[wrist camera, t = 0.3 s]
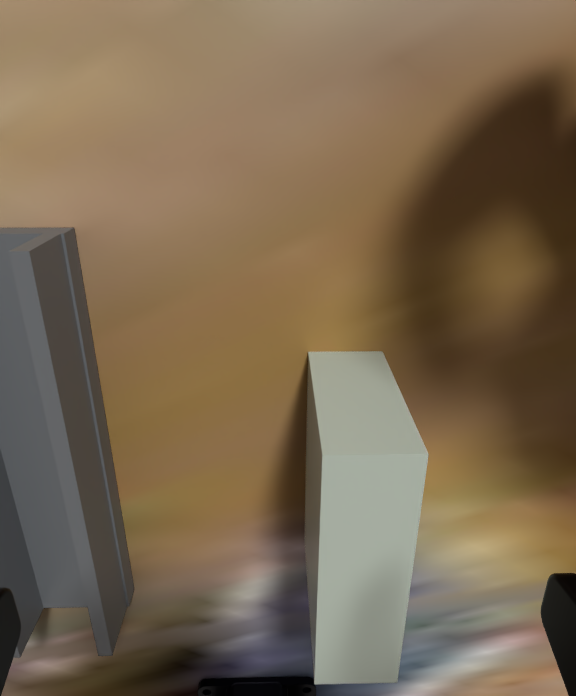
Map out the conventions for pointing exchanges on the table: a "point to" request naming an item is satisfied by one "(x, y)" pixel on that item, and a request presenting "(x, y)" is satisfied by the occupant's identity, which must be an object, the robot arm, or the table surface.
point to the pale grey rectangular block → (359, 515)
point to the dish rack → (55, 444)
